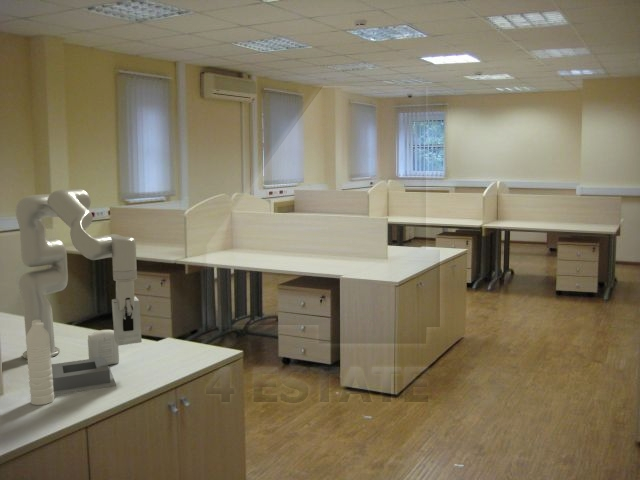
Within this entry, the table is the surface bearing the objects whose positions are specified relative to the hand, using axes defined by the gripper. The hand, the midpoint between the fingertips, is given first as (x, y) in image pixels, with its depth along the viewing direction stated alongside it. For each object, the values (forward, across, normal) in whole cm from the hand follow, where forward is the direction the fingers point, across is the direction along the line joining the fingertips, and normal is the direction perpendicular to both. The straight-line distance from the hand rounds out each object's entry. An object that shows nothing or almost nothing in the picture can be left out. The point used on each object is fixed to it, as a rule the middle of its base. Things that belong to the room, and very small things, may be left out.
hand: (127, 327), depth 216 cm
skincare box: (+5, 0, 0) cm, 5 cm away
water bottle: (+16, +15, -27) cm, 35 cm away
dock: (+16, +1, -15) cm, 22 cm away
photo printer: (+17, -14, -6) cm, 23 cm away
